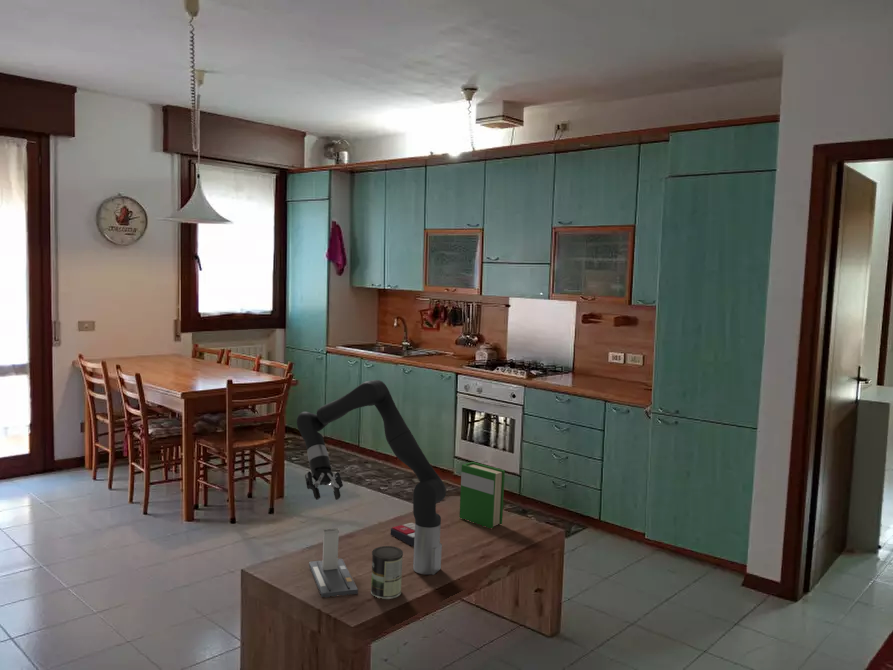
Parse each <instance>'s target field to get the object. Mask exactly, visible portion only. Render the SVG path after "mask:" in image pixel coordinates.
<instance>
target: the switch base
mask: <svg viewBox="0 0 893 670" xmlns="http://www.w3.org/2000/svg"><path fill="white" fill-rule="evenodd" d="M322 562H323V559H322V560H315V561H314V560H312V561H309V562H308V567H309V569H310V572H311V574H312V576H313V579H314V582H315V583H316V587H317V589H319V590H318V592H319V591H320V592H319V595H320V594H321V595H320V597H321V598H322V597H325V598H330V596H334V597H338V596H337V595H342V596H349V595H350V594H351V595H358V593H359V589H358V587H357V585H356V582H355V581H354V579H353V577H352V574H351V572H350V571H349V569H348V568H347V566H346V563H345V561H344V559H343V558H338V569H333V570H323V568H322ZM347 594H348V595H347Z"/></svg>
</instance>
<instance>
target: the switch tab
mask: <svg viewBox="0 0 893 670" xmlns="http://www.w3.org/2000/svg"><path fill="white" fill-rule="evenodd" d="M322 533H323V535H322V560H323V562H322V568H323V570H333V569H338V559H339V533H340V529H339V528H338V527H337V528H326V529H325V528H324V529H322Z"/></svg>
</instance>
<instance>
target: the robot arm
mask: <svg viewBox="0 0 893 670" xmlns="http://www.w3.org/2000/svg"><path fill="white" fill-rule="evenodd" d="M371 406H374V407H375V408H376V409H377V411H378V412H379V415H380V416H381V418H382V421H383V428H384V436H385V439H386V441H387V444H388V445H389V447H390V450H391V451H392V452H393V454H394V455H395V457H396V458H397V459H399V461H401V462H402V463H403V464H405V466H406V467H408V468H409V469H411V471H412V472H413V473H414V474H415V476H416V477H417V479H418V481H419V482H418V483H417V484H416V485H415V486H414V488H413V494H412V503H413V504H412V506H413V507H412V514H413V516H414V524H415V537H414V546H413V563H412V564H413V566H412V567H413V568H412V569H413V571H414V572H416V573H417V574H420V575H433V576H434V575H435V574H436V573H438V572H439V571H440V570H441V568H442V567H441V566H442V551H443V550H442V548H443V547H442V545H443V544H442V543H441V524H442V523H441V520H442V516H441V515H440V514H439V513H437V504H438V503H441V502H442V501H443V500H444V499H445V498H446V495H447V494H446V493H447V488H446V486H445V484H444V482H443V480H442V479H441V477H440V476H439V474H438V473H437V472H436V470H435V469H434V468H433V466H432V465H431V464H430V462H429V460H428V459H427V457H426V455H425V454H424V453H423V452H424V451H423V450H422V449H421V448H420V446H419V443H418V442H417V440H416V438H415V437H414V435H413V433H412V431H411V429H410V428H409V427H408V425H407V423H406V422H405V420H404V418H403V416H402V414H401V413H400V411H399V410H398V408H397V406H396V404H395V401H394V400H393V397H392V394H391V392H390V390H389V389H388V386H387V385H386V384H385V382H383V381H381V380H380V379H372V380H366V381H364V382H362V383H361V384H359V385H357V386H356V387H355V388H354V389H352V390H351V391H349V392H348V393H346V394H345V395H344V396H341V397H339V398H337V399H335V400H333V401H330V402H328V403H326V404H324V405H321V406H320V407H319V408H318V409H317V411H316V413H314V412H313V413H312V412H309V411H302V412H300V413H299V414H298V415H297V417H296V427H297V429H298V432H299V433H300V436H301V438H302V439H303V441H304V443H305V447H306V452H307V458H308V464H309V468H310V471H308V472H307V473H306V474H305V475H304V478H305V485H306V488H307V490H311V491H312V493H313V497H314V499H315V500H316V501H317V500H319V499H320V498H321V493H320V489H319V488H318V487H319V486H322V485H324V486H328V487H329V488H331V489H332V490H333V495H334V499H335V500H337V501H338V500H339V499H340V498H341V491H340V489H341V488H342V487H343V486H344V483H343V481H342V478H341V474H340V472H338V471H337V472H336V473H333V471H332V465H331V462H330V457H329V453H328V450H327V446H326V443H325V440H324V436H323V435H322V433H320V431H322V430H323V429H325V428H326V426H328V425H329V424H330V423H332V422H334V421H337V420H338V419H341V418H343V417H344V416H345V415H347V414H348V413H350V412H351V411H353V410H356V409H359V408H364V407H371ZM313 480H314V482H313Z"/></svg>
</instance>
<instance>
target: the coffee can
mask: <svg viewBox="0 0 893 670" xmlns="http://www.w3.org/2000/svg"><path fill="white" fill-rule="evenodd" d="M403 555H404V550H402V549H401V548H399V547H396V546H392V545H391V546H390V545H383V546H382V545H381V546H378V547H375V548H374V549H372V551H371V557H372V560H371V584H370V585H371V586H370V587H371V589H370V594H371V595H372V596H373V597H374V596H375V597H374V598H376V597H377V599H380V598H382V599H381V600H390V599H391V600H392V599H396V598H398V597H400V596H401V594H402V573H403Z"/></svg>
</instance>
